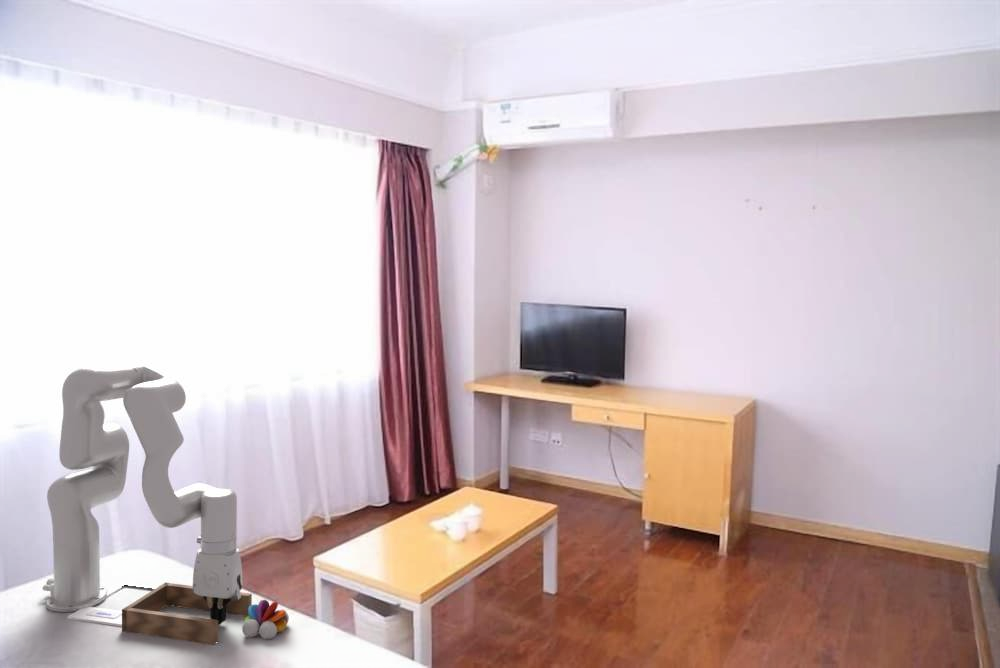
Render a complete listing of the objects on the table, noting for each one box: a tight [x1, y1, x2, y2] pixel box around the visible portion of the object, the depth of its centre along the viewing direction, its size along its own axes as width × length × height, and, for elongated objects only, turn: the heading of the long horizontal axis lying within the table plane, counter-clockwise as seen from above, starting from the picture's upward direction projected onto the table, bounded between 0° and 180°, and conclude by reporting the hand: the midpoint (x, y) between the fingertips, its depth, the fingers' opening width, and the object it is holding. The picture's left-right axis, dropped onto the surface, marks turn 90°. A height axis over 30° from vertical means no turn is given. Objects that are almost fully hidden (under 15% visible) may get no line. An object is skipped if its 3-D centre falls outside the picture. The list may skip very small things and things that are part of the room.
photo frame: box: [66, 583, 157, 628], centre depth 164 cm, size 15×1×18 cm
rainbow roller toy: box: [241, 599, 290, 640], centre depth 153 cm, size 8×10×7 cm
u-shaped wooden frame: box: [121, 582, 253, 645], centre depth 156 cm, size 23×14×5 cm, turn 79°
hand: (218, 622), depth 155 cm, fingers closed
